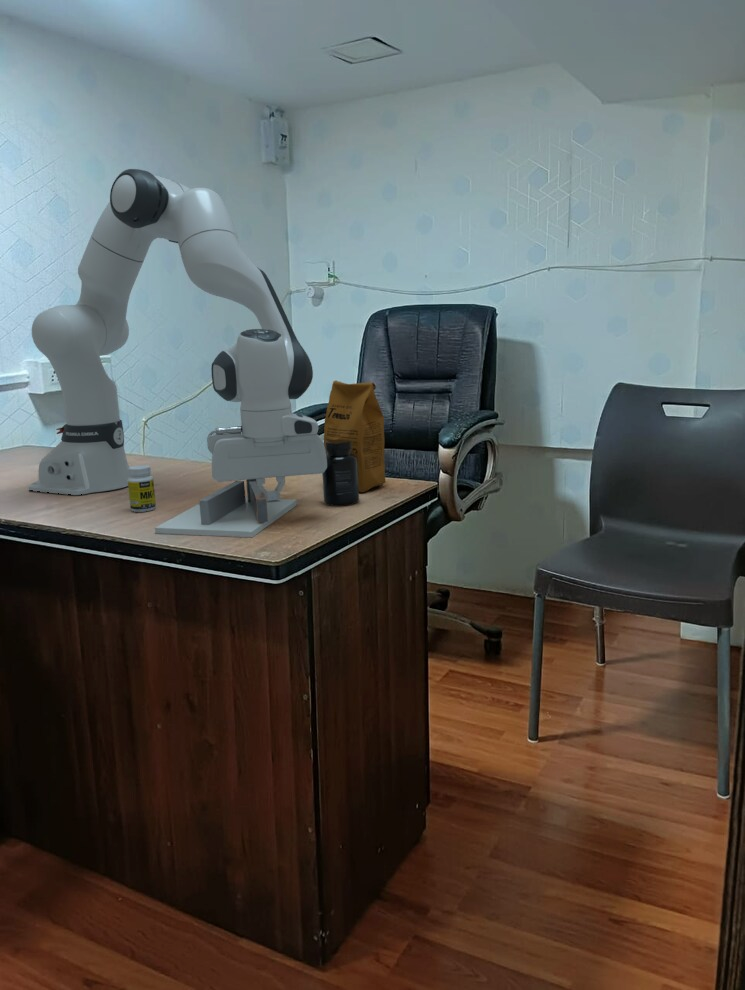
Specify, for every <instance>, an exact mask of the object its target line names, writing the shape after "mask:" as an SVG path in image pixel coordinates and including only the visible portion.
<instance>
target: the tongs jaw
mask: <svg viewBox="0 0 745 990" xmlns="http://www.w3.org/2000/svg"><path fill="white" fill-rule="evenodd" d="M249 488H250V501H251V504H252V507H253V510H254V512H255V515H256V518H257V521H258V522H267V521H268V515H267V501H266V497H265V494H264V493H263V492H262V491H261V489H260V488H259V486H258V485H257V483H256V481H249Z"/></svg>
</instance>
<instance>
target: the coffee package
mask: <svg viewBox="0 0 745 990" xmlns="http://www.w3.org/2000/svg"><path fill="white" fill-rule="evenodd" d="M376 389H377V386H376V384H375V383H374V382H373V381H372V382H359V383H345V382H342V381H338V380H333V382H332V386H331V390H330V393H329V398H328V402H327V408H326V413H325V419H324V424H323V425H324V426H323V430H324V431H323V432H324V433H323V443H324V447H325V451H326V442H327V441H330V440H339V439H345V440H350V441H351V451H350V453H352V454H353V455H355V457H356V458H357V470H358V489H359V493H366V492H367V491H369V490H371V489H372V488H375V487H379V486H382V485H384V484H385V483H386V473H385V472H386V466H385V465H386V464H385V454H386V453H385V443H386V441H385V417H384V415H383V412H382V409H381V407H380V403H379V401H378V399H377V397H376V393H375V390H376ZM326 455H327V452H326Z"/></svg>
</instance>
